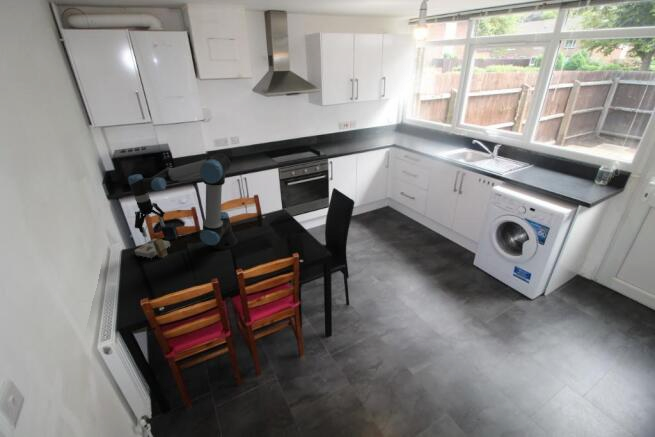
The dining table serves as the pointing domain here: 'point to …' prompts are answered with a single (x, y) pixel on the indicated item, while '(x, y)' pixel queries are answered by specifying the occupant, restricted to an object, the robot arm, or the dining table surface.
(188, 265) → the dining table surface
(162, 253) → the peg
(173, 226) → the box
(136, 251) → the socket block
